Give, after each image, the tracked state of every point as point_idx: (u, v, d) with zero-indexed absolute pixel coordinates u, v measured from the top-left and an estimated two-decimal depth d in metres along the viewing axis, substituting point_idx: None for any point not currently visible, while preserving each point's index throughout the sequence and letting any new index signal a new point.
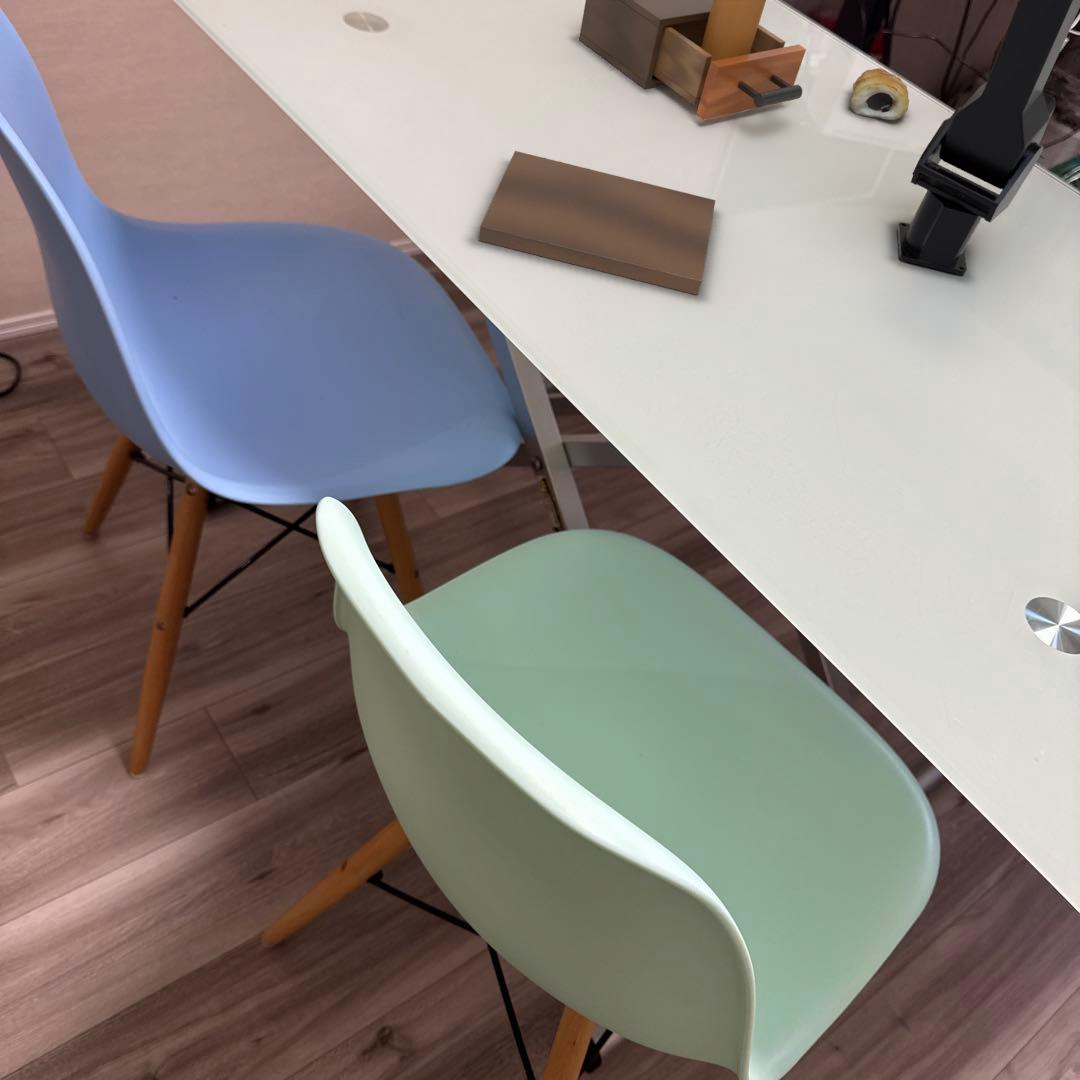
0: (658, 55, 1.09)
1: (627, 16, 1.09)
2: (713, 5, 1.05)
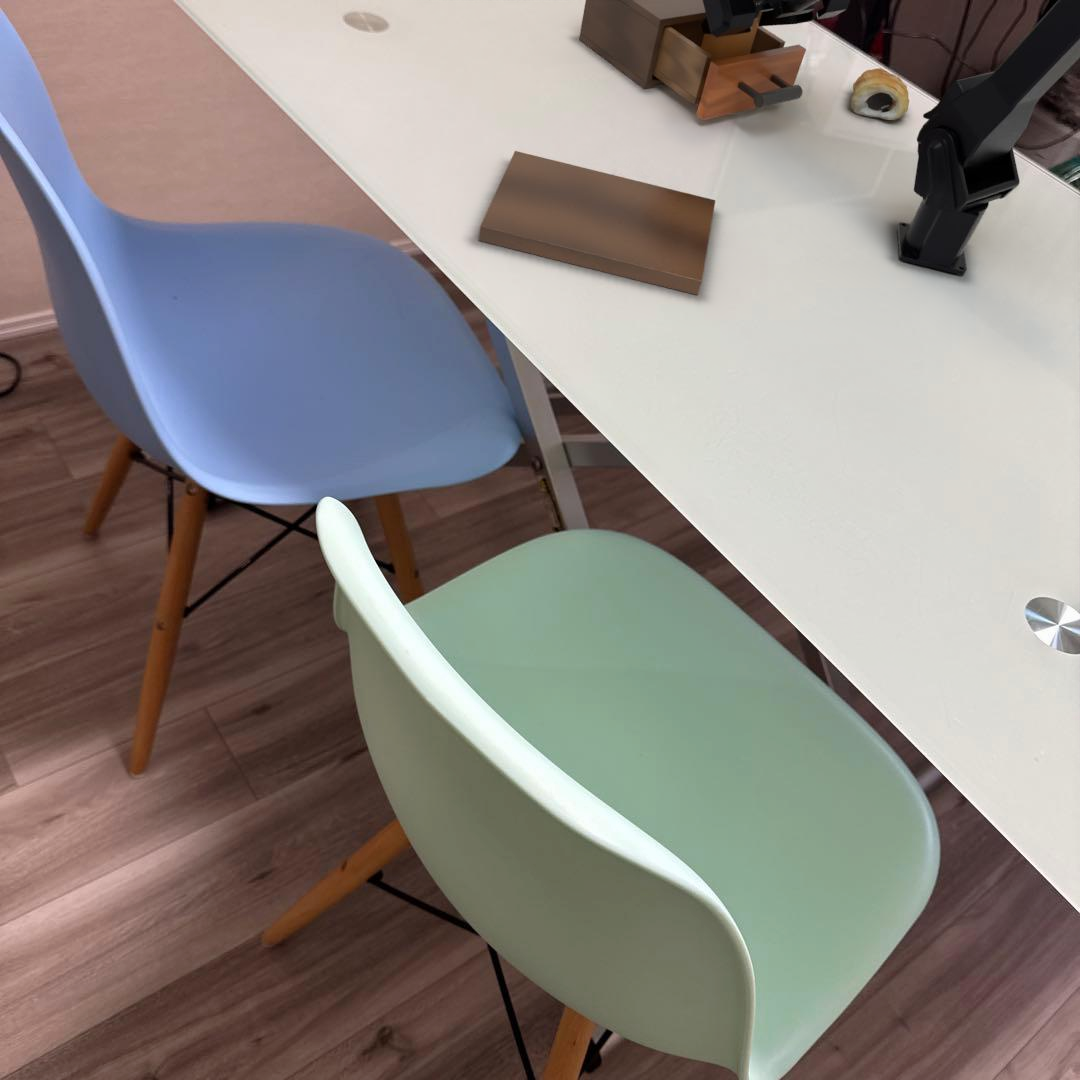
0: (658, 55, 1.09)
1: (627, 16, 1.09)
2: None
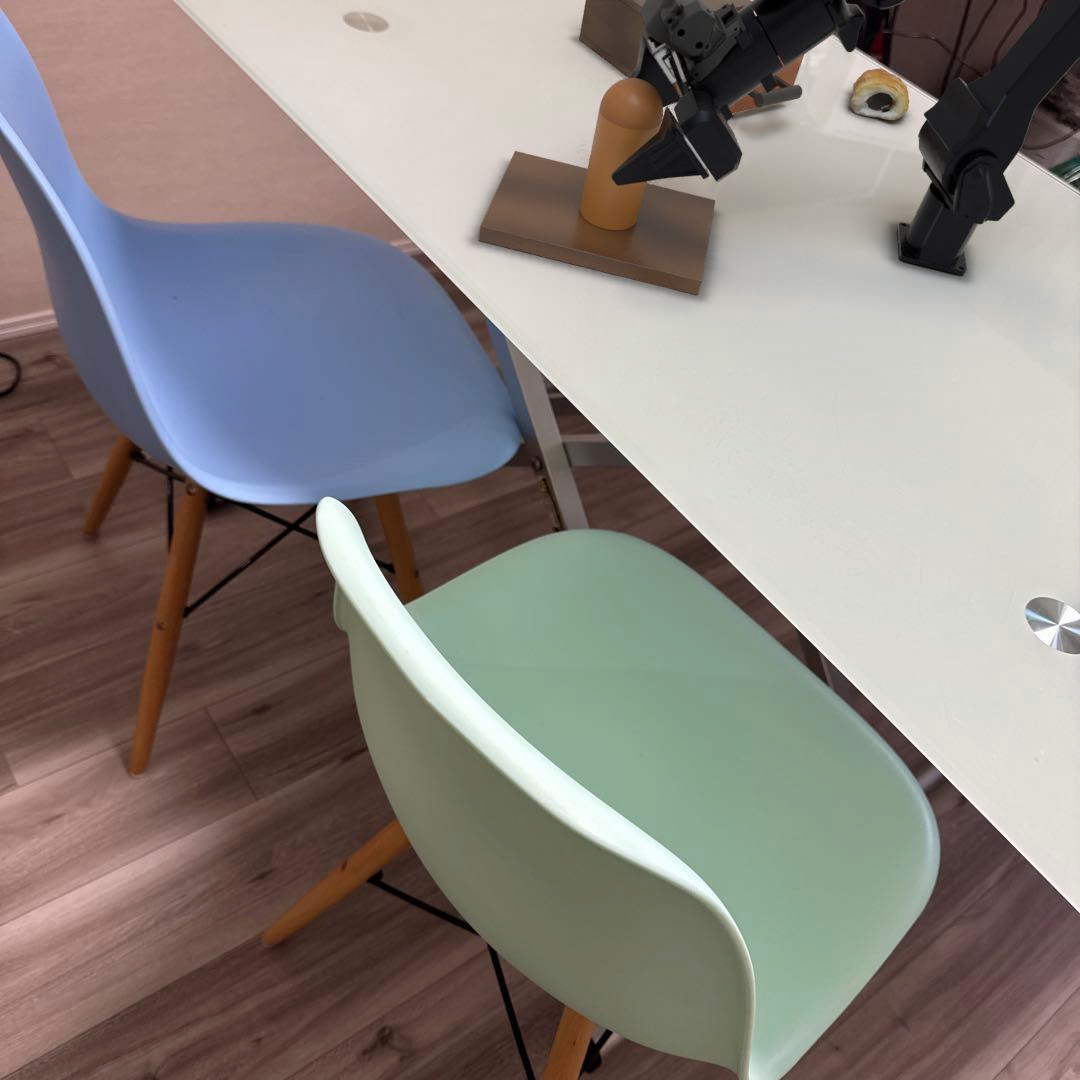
0: None
1: (627, 16, 1.09)
2: (614, 149, 0.83)
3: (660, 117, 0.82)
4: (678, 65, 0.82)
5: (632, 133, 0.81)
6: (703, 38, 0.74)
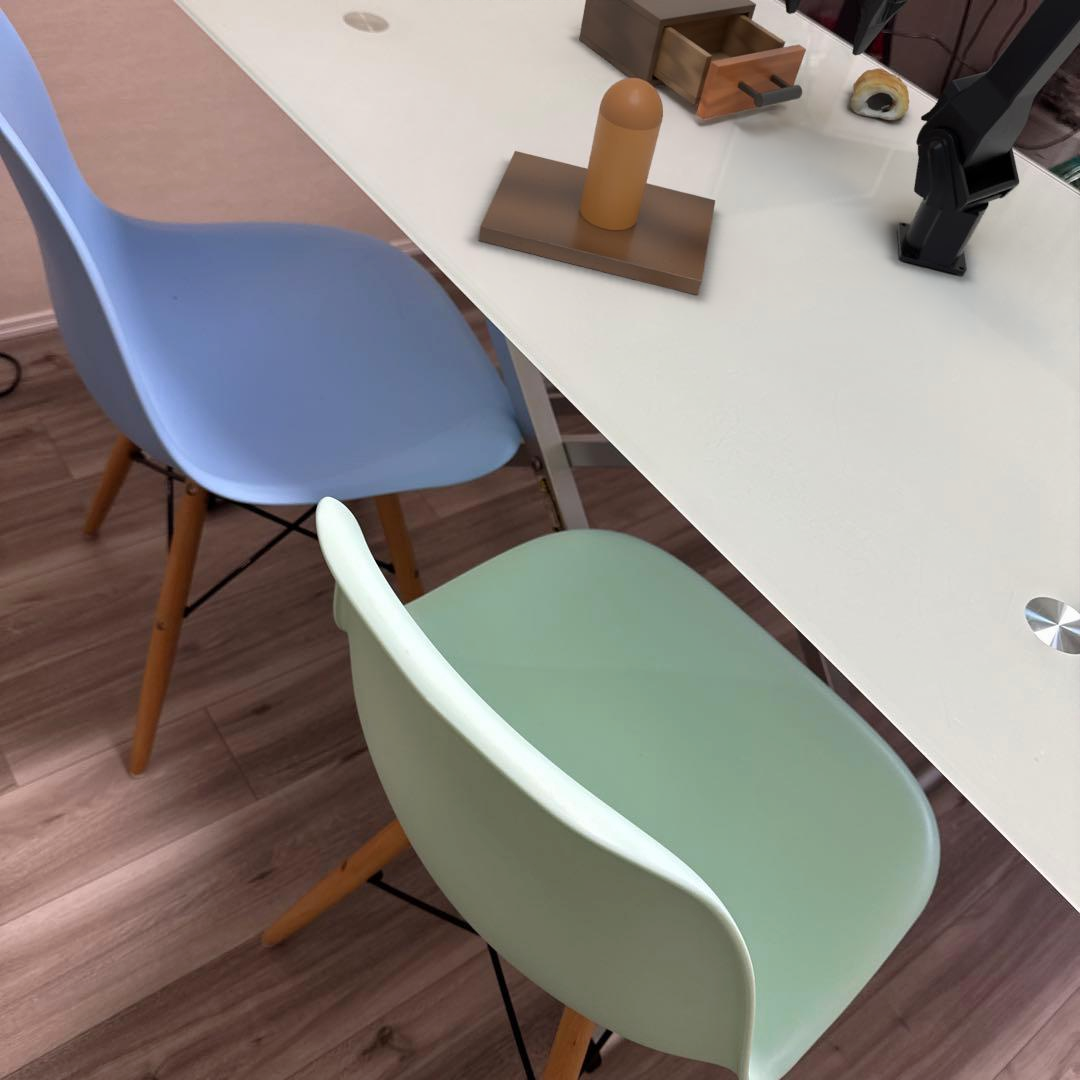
0: (658, 55, 1.09)
1: (627, 16, 1.09)
2: (614, 149, 0.83)
3: (660, 117, 0.82)
4: None
5: (632, 133, 0.81)
6: None
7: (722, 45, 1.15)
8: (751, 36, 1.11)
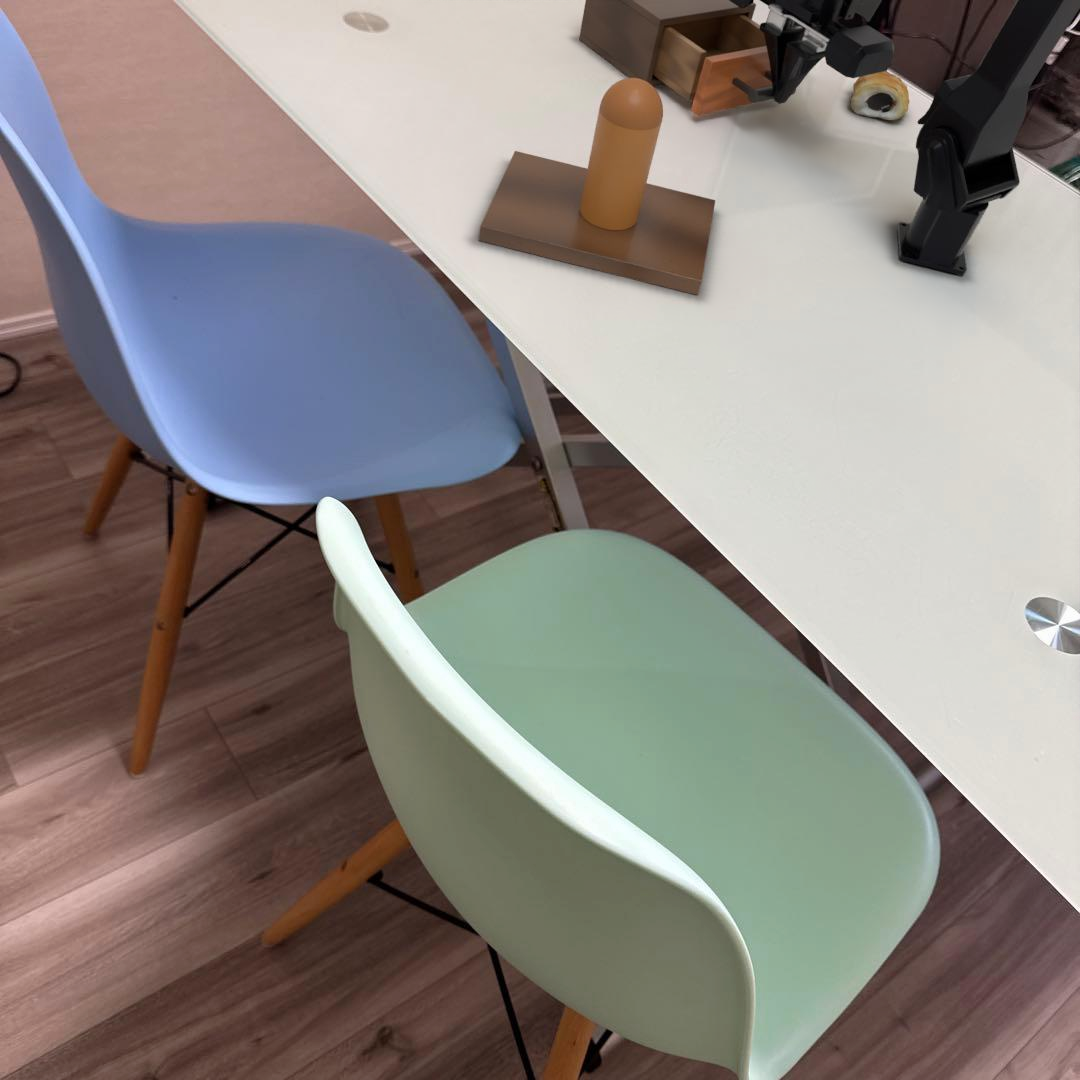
0: None
1: (627, 16, 1.09)
2: (614, 149, 0.83)
3: (660, 117, 0.82)
4: None
5: (632, 133, 0.81)
6: None
7: (716, 41, 1.16)
8: (746, 32, 1.12)
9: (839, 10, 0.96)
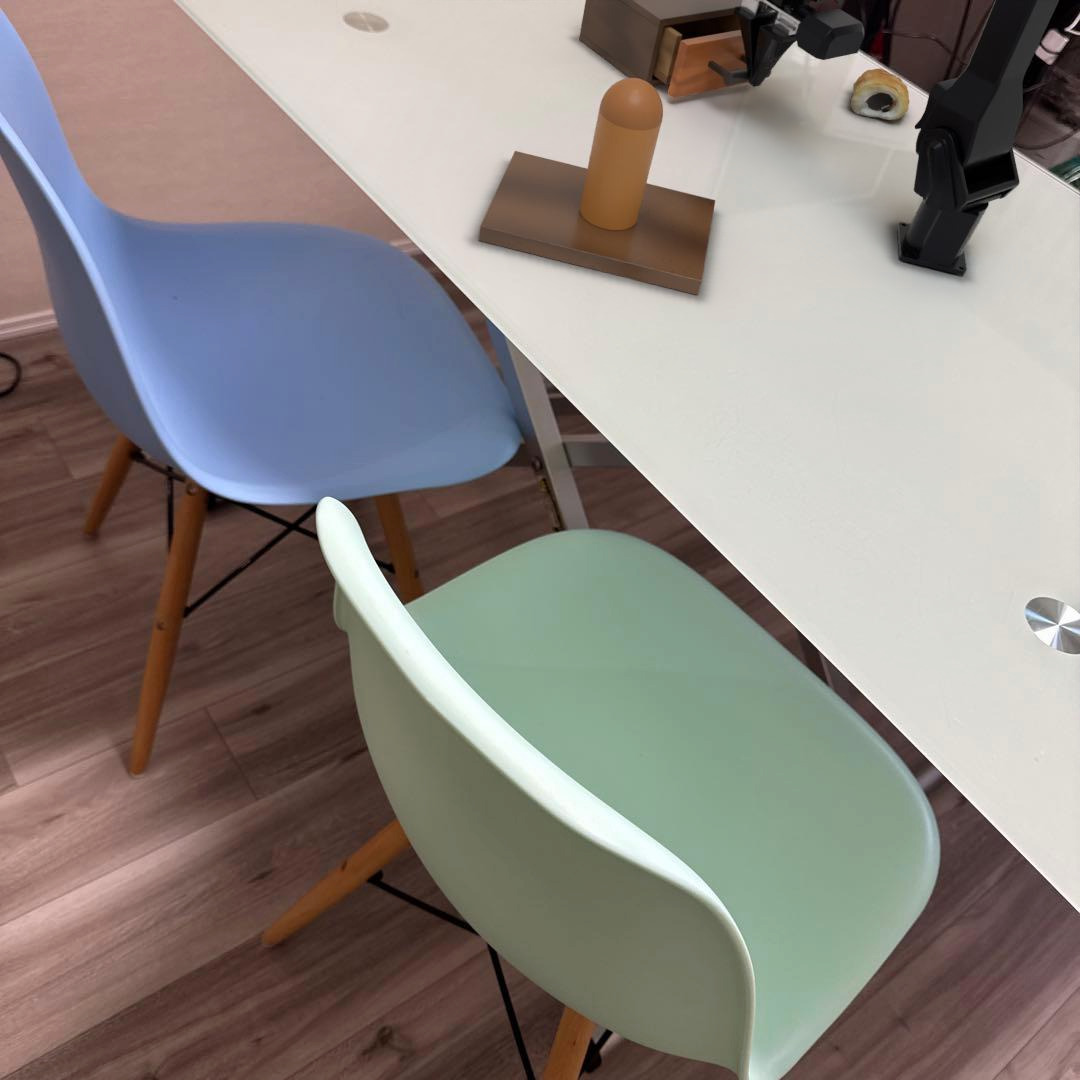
0: None
1: (627, 16, 1.09)
2: (614, 149, 0.83)
3: (660, 117, 0.82)
4: None
5: (632, 133, 0.81)
6: None
7: (694, 26, 1.17)
8: (723, 17, 1.14)
9: None
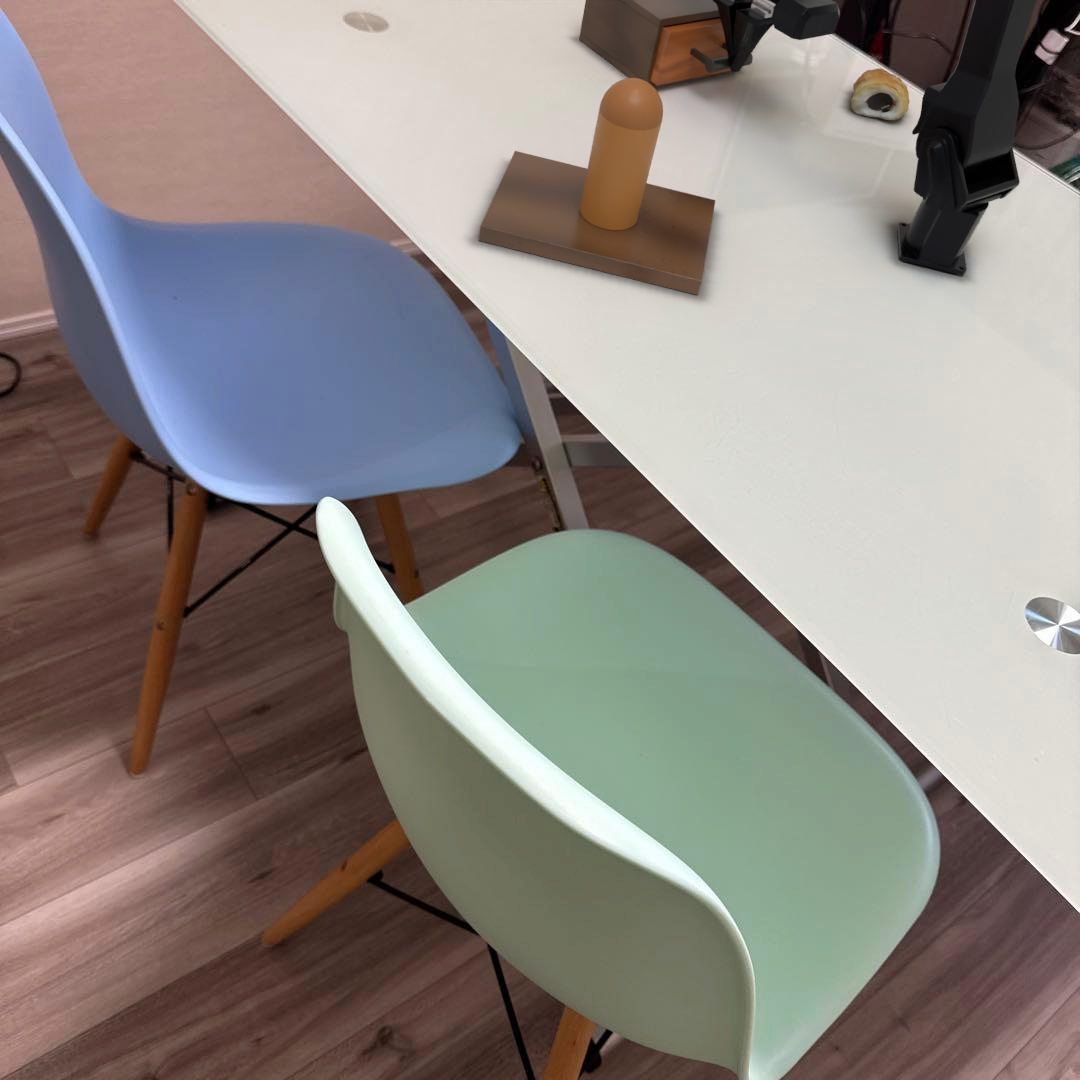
0: None
1: (627, 16, 1.09)
2: (614, 149, 0.83)
3: (660, 117, 0.82)
4: None
5: (632, 133, 0.81)
6: None
7: None
8: None
9: None
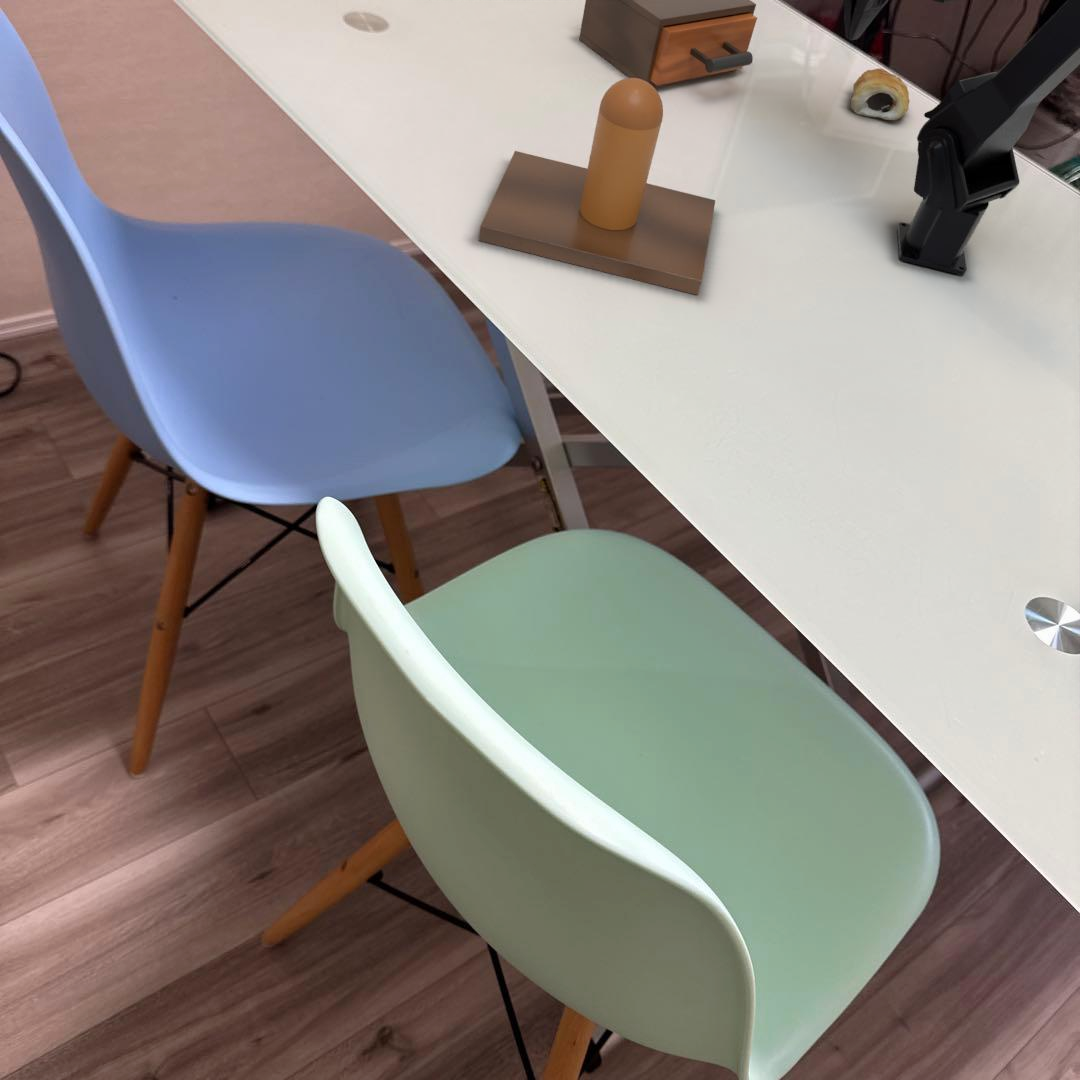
0: None
1: (627, 16, 1.09)
2: (614, 149, 0.83)
3: (660, 117, 0.82)
4: None
5: (632, 133, 0.81)
6: None
7: None
8: None
9: None
